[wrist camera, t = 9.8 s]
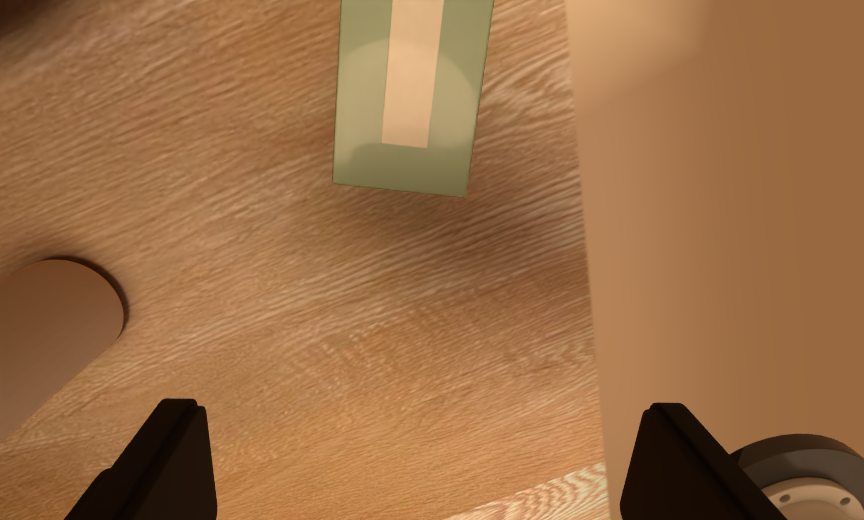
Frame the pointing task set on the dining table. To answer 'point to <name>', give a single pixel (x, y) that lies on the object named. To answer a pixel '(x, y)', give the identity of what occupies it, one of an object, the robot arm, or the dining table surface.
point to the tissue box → (409, 93)
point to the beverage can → (50, 333)
